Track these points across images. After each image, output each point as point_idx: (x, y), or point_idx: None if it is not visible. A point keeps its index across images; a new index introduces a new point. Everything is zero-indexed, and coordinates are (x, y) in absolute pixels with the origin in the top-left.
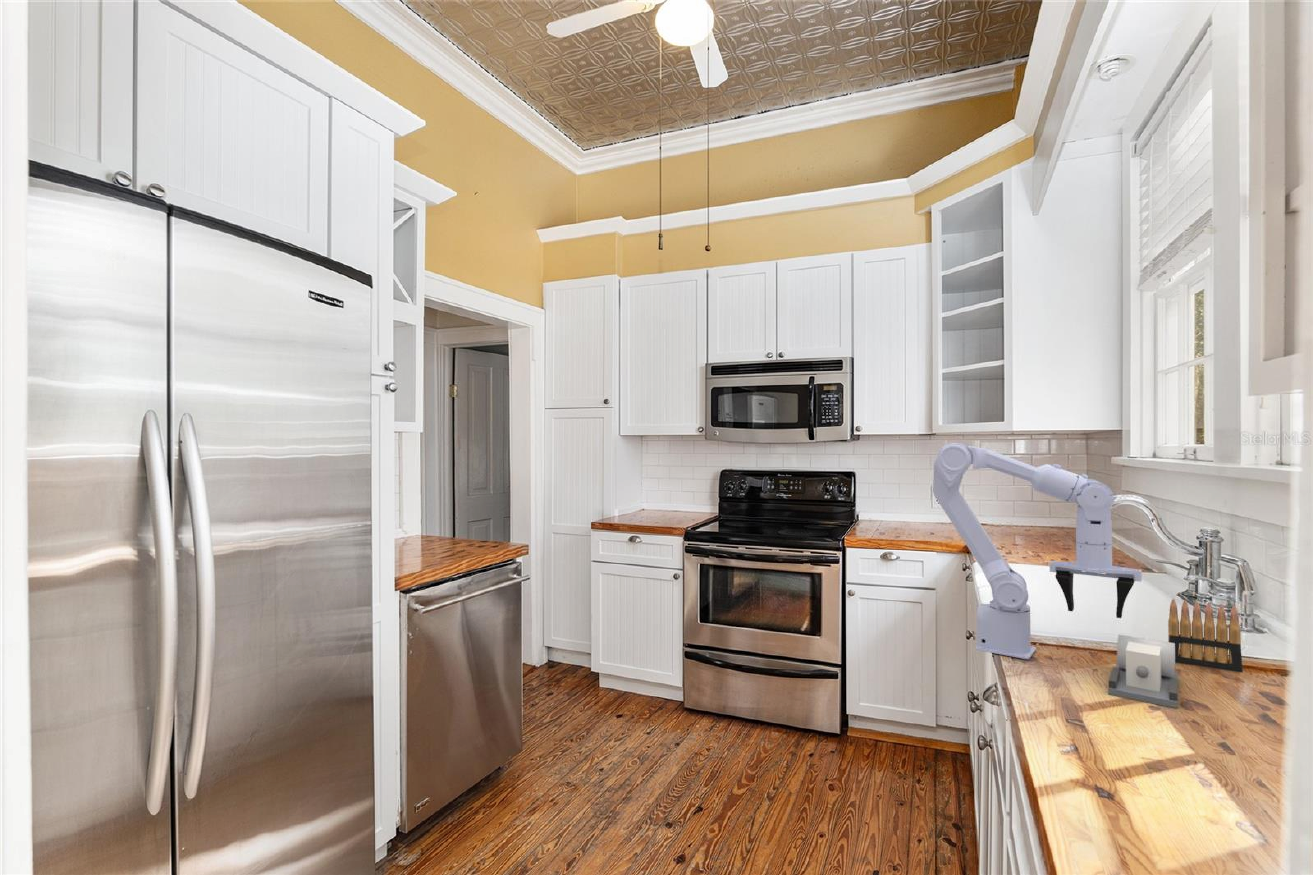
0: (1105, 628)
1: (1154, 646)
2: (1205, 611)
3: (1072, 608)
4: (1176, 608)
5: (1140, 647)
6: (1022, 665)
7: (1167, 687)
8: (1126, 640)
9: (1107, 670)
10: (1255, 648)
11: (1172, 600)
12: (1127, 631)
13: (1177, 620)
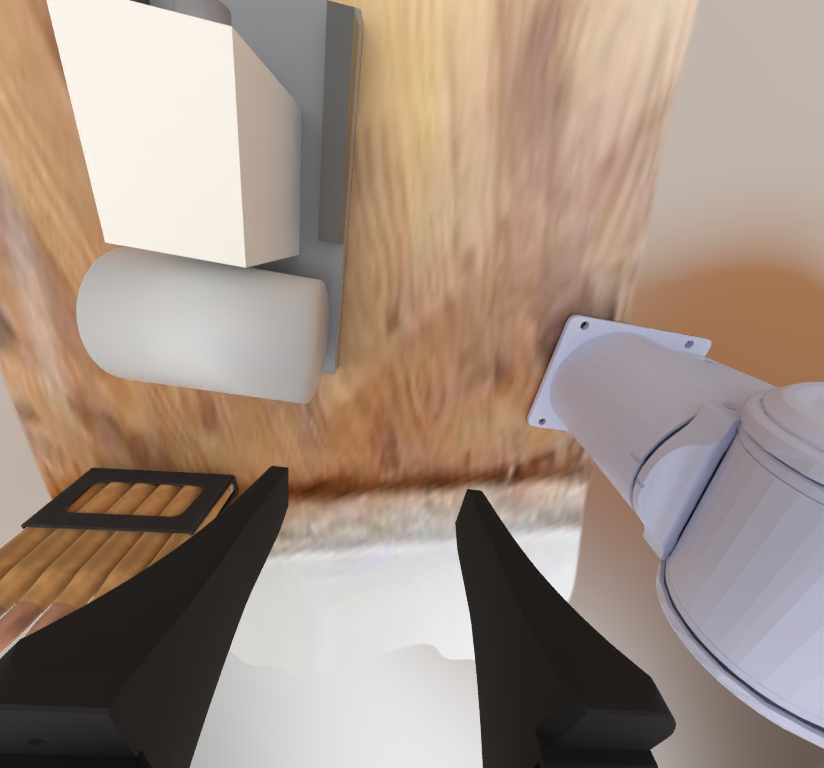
0: (359, 614)
1: (129, 230)
2: (13, 634)
3: (468, 504)
4: None
5: (177, 162)
6: (599, 253)
7: None
8: (265, 324)
9: (360, 333)
10: None
11: None
12: (321, 613)
13: None
